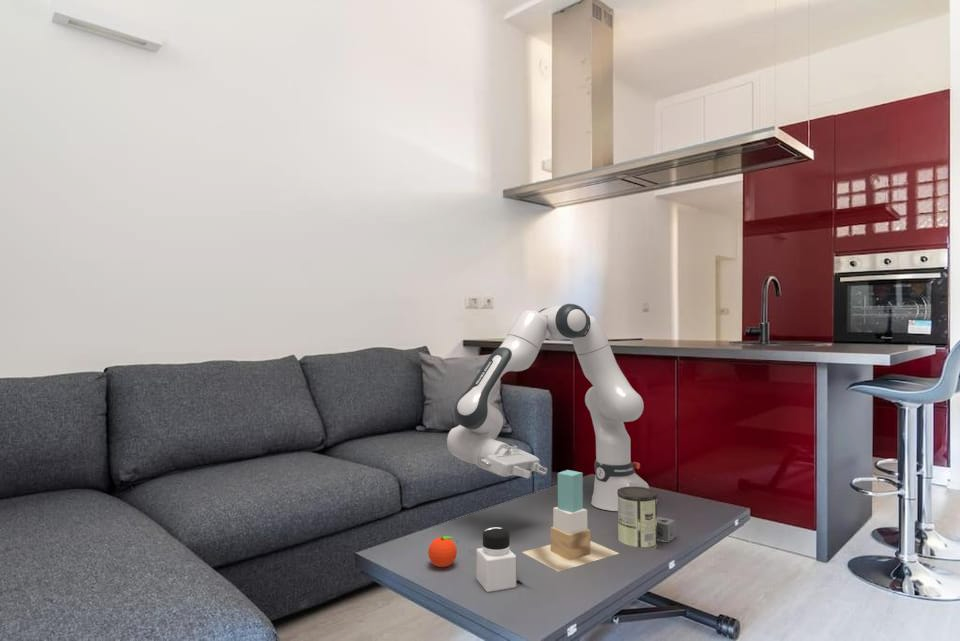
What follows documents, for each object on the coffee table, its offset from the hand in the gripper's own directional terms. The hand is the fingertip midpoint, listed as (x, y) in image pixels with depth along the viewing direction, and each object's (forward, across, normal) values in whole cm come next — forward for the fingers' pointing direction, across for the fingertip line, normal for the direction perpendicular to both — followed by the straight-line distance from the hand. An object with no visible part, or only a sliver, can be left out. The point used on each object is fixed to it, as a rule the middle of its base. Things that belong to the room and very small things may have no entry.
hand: (538, 473), depth 154 cm
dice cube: (+30, +23, +10) cm, 39 cm away
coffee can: (+26, +15, +12) cm, 32 cm away
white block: (+14, -3, +9) cm, 17 cm away
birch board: (+15, -3, +16) cm, 22 cm away
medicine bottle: (+8, -25, +21) cm, 33 cm away
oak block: (+15, -3, +15) cm, 21 cm away
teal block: (+12, -4, +4) cm, 14 cm away
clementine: (-8, -23, +24) cm, 34 cm away
